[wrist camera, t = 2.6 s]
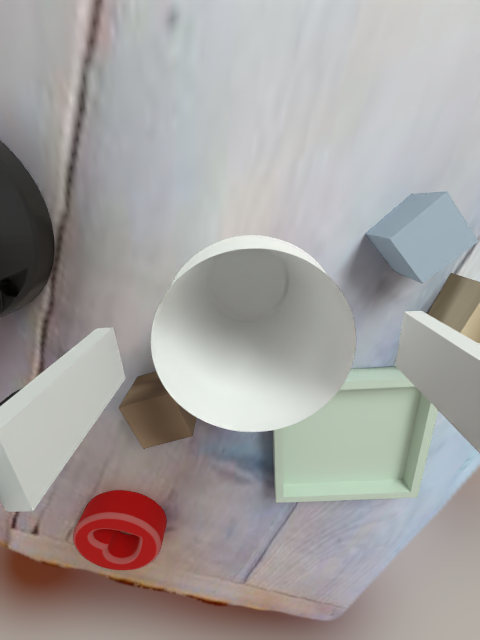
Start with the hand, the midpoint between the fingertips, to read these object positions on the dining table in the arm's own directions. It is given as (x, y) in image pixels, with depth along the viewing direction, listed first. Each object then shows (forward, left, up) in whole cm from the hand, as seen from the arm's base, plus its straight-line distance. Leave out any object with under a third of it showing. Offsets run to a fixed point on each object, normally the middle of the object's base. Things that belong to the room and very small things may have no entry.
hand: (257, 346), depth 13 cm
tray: (+9, -16, -11) cm, 21 cm away
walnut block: (-8, -10, -11) cm, 17 cm away
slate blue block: (+12, +3, -11) cm, 16 cm away
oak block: (+18, -3, -11) cm, 21 cm away
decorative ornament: (-16, -28, -11) cm, 34 cm away
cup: (0, 0, -11) cm, 11 cm away
